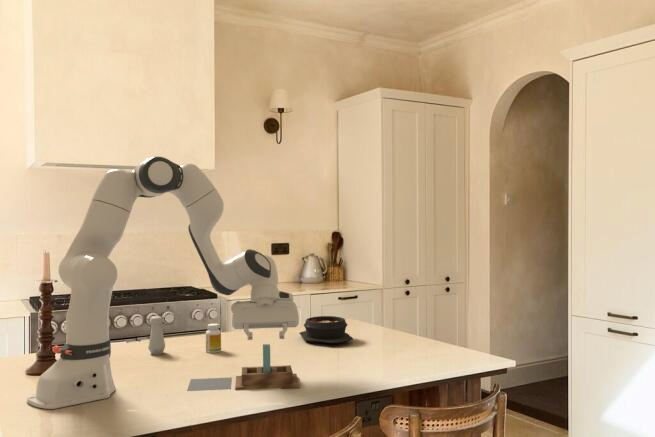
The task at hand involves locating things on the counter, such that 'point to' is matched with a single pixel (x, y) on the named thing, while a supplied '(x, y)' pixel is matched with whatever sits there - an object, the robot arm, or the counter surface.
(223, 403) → the counter surface
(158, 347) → the salt shaker
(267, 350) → the teal rectangular block
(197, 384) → the mat
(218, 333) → the supplement bottle
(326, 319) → the casserole
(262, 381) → the rack
